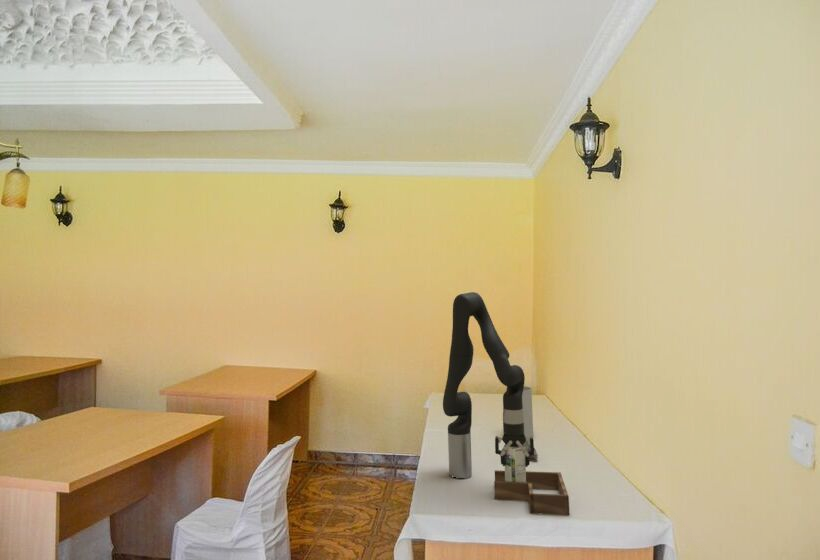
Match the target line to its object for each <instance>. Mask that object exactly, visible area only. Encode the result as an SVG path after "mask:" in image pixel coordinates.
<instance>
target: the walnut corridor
mask: <svg viewBox="0 0 820 560" xmlns="http://www.w3.org/2000/svg"><path fill="white" fill-rule="evenodd" d="M493 484H494V485H493V486H494V487H493V488H494V500H495V499H502V500H501V501H517V502H518V501H521V502H523V501H525V502H528V505H529V512H530V514H538V513H542V515H543V514H544V515H562V516H563V515H564V516H570V498H569V497H570V496H569V494H568V490H567V487H566V485H565V481H564V477H563V475H562V472H559V471H558V472H557V471H527V470H526V482H505V470H499V469H498V470H494V481H493ZM534 490H547V491H548V490H549V491H552V490H553V491H558V494H556V493H555V494H552V493H534Z"/></svg>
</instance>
